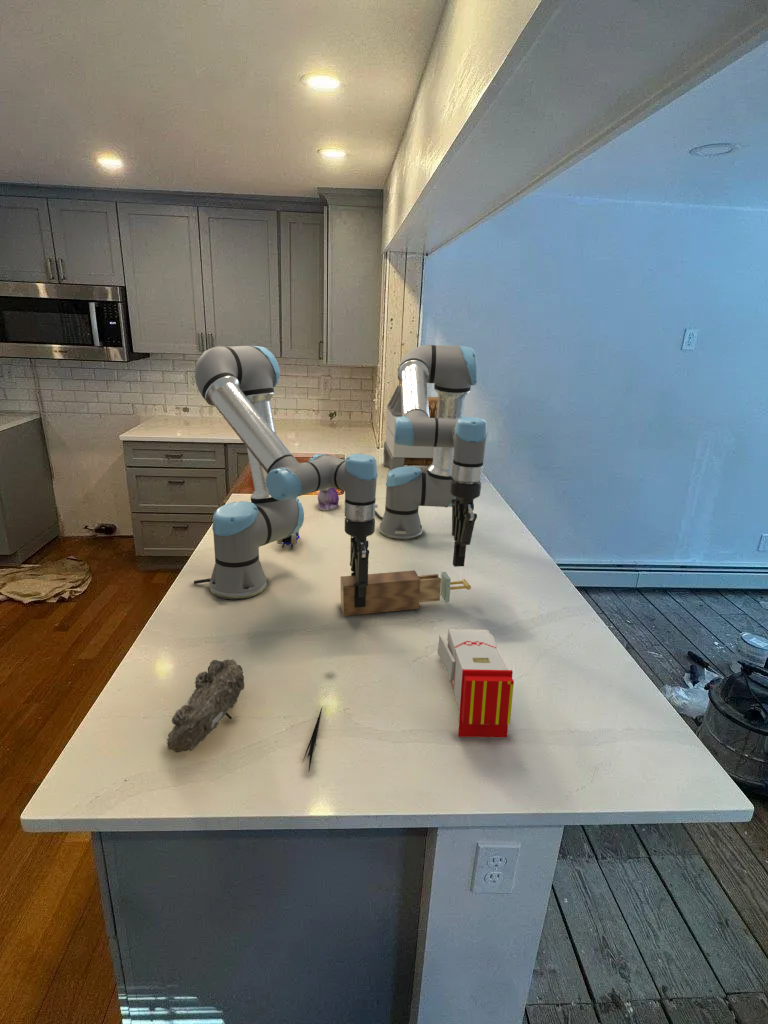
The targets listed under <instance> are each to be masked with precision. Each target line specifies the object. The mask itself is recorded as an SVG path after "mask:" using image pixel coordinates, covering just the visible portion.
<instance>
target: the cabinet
mask: <svg viewBox="0 0 768 1024" xmlns="http://www.w3.org/2000/svg"><path fill="white" fill-rule="evenodd" d="M418 576H419V575H418V573H417V571H416V570H415V569H414V570H403V571H390V572H377V573H368V586H366V603H365V607H357V608H355V586H353V583H356V575H353V576H351V575H343V576H340V577H339V579H340V609H341V611H342V615H343V617H347V616H348V617H349V616H356V615H357V616H359V615H367V614H368V615H369V614H378V613H389V612H397V611H398V612H399V611H410V610H420V603H419V598H420V578H419V577H418Z"/></svg>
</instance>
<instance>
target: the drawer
mask: <svg viewBox="0 0 768 1024" xmlns="http://www.w3.org/2000/svg"><path fill="white" fill-rule="evenodd" d="M418 577H419V578H420V598H419V604H420V603H428V602H429V603H430V602H439V601H441V598H442V599H443V602H444V603H449V602H450V598H451V597H450V595H451V594H450V593H451V591H452V590H453V591H454V590H463V589H465V590H467V591H469V590H471V589H472V586H471V584H470V583H469V582H468V581H467V579H466V578H463V579H462V580H457V581H451V580H452V579H451V577H450V576H449V574H448V572H447V571H441V575H440V577H439V574H438V573H435V574H434V573H432V574H419V575H418ZM451 585H452V586H451ZM453 585H457V586H453Z"/></svg>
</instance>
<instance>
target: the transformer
mask: <svg viewBox="0 0 768 1024" xmlns="http://www.w3.org/2000/svg"><path fill="white" fill-rule="evenodd" d="M428 405H429V417H430V418H436V417H437V405H438V396H428ZM385 414H386V415H385V423H386V428H385V438H384V442H383V466H384V467H388V468H389V472H390V471H391V470H392V469H395V468H398V467H405V466H413V467H428V466H430V465H431V464H432V463H433V453H434V447H426V446H405V445H398V444H396V443H395V420H396V418H397V417H402V402H401V384H400V385H399V384H398V385H397V386H396V388H395V390H394V392H393V394H392V395H391V398H390V400H389V402H388V404H387V405H386V413H385Z"/></svg>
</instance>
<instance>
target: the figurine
mask: <svg viewBox="0 0 768 1024" xmlns="http://www.w3.org/2000/svg"><path fill="white" fill-rule="evenodd" d="M339 500H340V497H339V493H338V491H337V489H336V488H326V489H323V490H319V491H318V493H317V502H318V503H317V508H318V510H321V511H328V510H329V511H330V510H334V509H337V508H338V506H339Z"/></svg>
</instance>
